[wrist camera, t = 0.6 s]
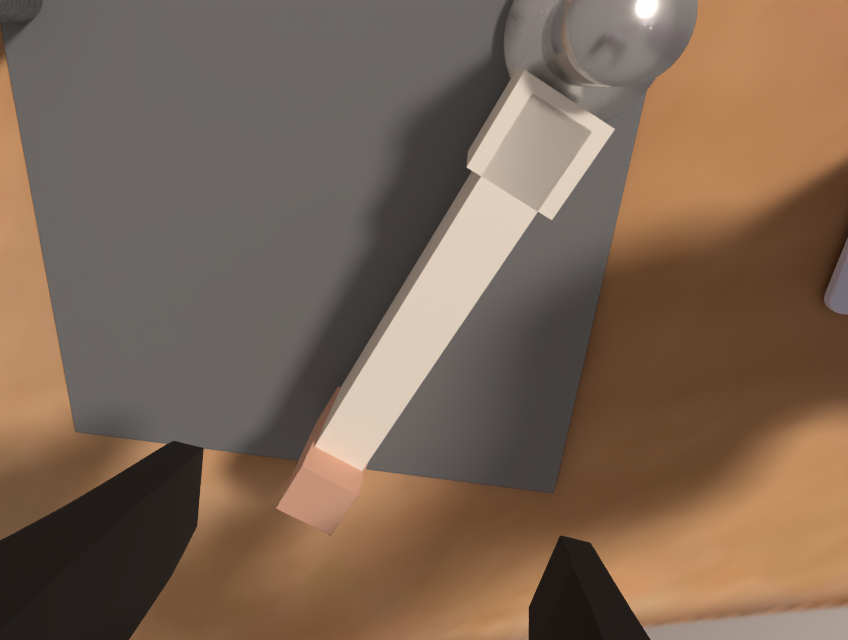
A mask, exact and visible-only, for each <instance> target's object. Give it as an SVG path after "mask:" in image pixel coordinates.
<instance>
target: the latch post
mask: <svg viewBox="0 0 848 640" xmlns="http://www.w3.org/2000/svg"><path fill="white" fill-rule="evenodd" d="M42 4H43V0H0V22H7V23H14V24H23V23H27V22H29V21H31V20H33V19H34V18H35V17H36V16H37V15H38V13H39V12H40V10H41V7H42Z"/></svg>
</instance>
